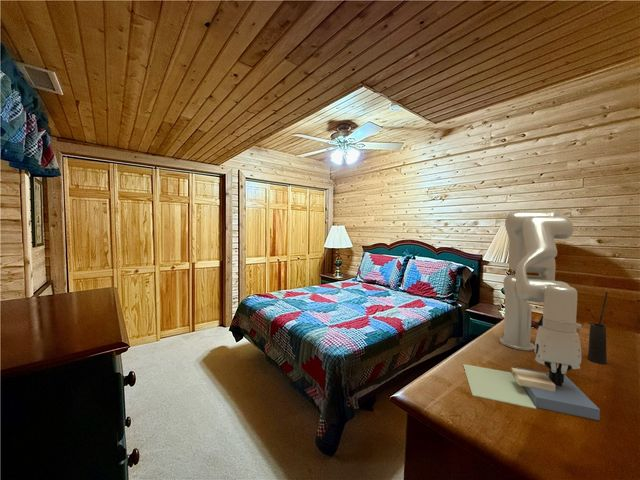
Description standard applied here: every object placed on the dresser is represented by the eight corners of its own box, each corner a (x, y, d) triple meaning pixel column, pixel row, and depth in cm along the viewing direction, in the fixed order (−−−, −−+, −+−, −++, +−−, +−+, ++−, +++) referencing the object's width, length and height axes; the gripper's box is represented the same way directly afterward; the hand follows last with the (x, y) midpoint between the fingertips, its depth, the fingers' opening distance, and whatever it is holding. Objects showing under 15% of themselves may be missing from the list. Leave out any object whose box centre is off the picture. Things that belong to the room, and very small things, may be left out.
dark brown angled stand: (524, 321, 148) (525, 304, 148) (552, 328, 138) (553, 309, 138) (518, 324, 143) (518, 306, 143) (546, 331, 133) (547, 312, 133)
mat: (462, 364, 99) (462, 364, 99) (513, 373, 93) (513, 372, 93) (472, 395, 81) (472, 394, 81) (536, 409, 75) (536, 408, 75)
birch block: (511, 373, 88) (511, 367, 88) (544, 379, 85) (545, 373, 85) (519, 385, 81) (519, 378, 81) (555, 391, 78) (555, 385, 78)
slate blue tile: (515, 375, 92) (515, 366, 92) (565, 384, 87) (565, 375, 87) (535, 407, 76) (536, 397, 75) (599, 420, 71) (600, 409, 70)
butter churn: (571, 356, 107) (574, 288, 106) (586, 353, 110) (589, 287, 109) (600, 367, 98) (604, 293, 97) (616, 363, 101) (620, 292, 100)
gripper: (582, 324, 81) (580, 382, 82) (524, 318, 86) (522, 372, 87) (598, 333, 74) (595, 396, 75) (534, 326, 79) (531, 385, 80)
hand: (556, 383), depth 81 cm, fingers closed
